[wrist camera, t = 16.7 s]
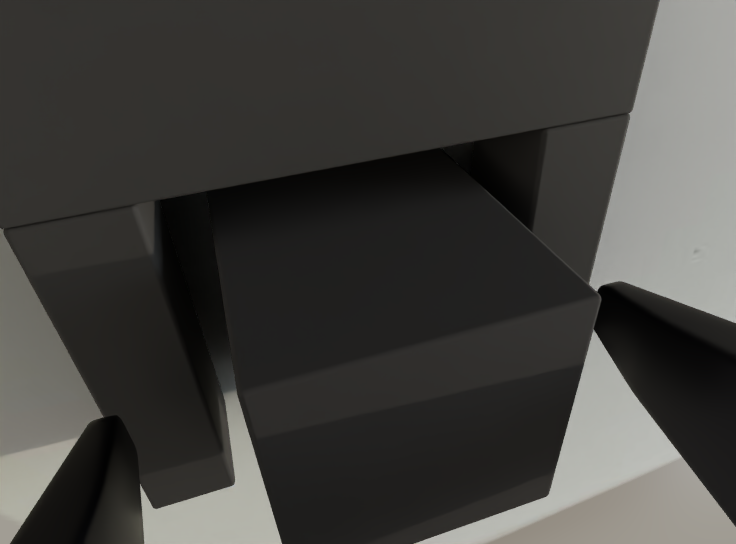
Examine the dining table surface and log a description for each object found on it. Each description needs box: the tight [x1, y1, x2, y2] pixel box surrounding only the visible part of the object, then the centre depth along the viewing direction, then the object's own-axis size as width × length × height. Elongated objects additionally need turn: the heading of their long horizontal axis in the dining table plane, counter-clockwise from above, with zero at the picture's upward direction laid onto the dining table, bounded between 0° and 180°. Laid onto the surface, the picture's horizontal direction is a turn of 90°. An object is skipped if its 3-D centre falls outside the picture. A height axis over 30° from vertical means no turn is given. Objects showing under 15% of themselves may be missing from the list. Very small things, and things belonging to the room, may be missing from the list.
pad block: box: [206, 148, 601, 544], centre depth 10 cm, size 5×5×6 cm
